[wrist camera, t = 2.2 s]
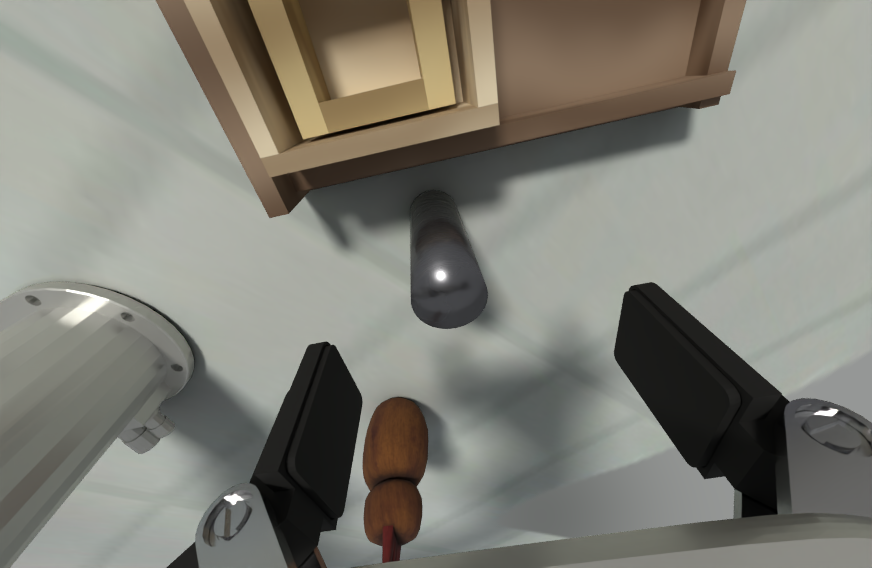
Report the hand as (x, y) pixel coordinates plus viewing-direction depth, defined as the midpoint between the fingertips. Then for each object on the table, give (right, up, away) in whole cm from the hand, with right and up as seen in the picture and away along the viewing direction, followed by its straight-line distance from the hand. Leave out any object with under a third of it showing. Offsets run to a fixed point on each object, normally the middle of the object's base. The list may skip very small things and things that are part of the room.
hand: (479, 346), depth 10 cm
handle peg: (-2, +7, +11) cm, 13 cm away
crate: (-5, +14, +5) cm, 16 cm away
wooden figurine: (-6, -11, +22) cm, 26 cm away
